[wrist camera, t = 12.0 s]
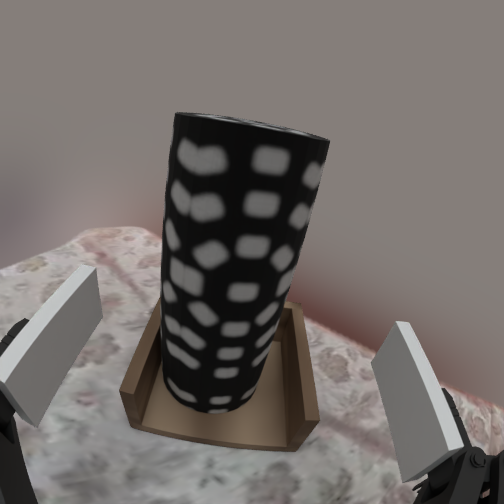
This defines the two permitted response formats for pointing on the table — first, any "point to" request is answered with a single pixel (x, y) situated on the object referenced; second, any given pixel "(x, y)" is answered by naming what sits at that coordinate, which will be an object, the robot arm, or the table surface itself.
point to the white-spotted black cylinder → (230, 250)
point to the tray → (245, 417)
